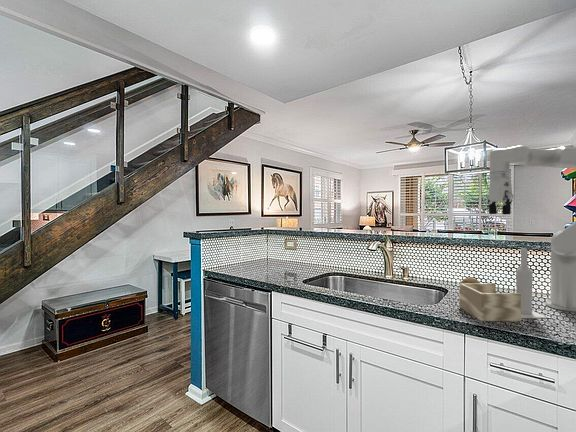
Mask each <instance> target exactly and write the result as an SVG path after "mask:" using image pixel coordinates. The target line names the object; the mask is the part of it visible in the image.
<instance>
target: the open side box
mask: <svg viewBox="0 0 576 432" xmlns="http://www.w3.org/2000/svg"><path fill="white" fill-rule="evenodd" d="M496 286H497V285H496V283H492V282H491V283H490V282H489V283H486V282H485V283H483V282H482V283H481V282H480V283H461V282H459V308H460V309H462V310H463V311H465V312H466V313H468V314H470V315H471V316H472V317H474V318H476V319H478V320H479V321H481V322H521V321H522V318H521V294H520V293H517V292H499V293H498V292H496V288H497V287H496Z"/></svg>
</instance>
